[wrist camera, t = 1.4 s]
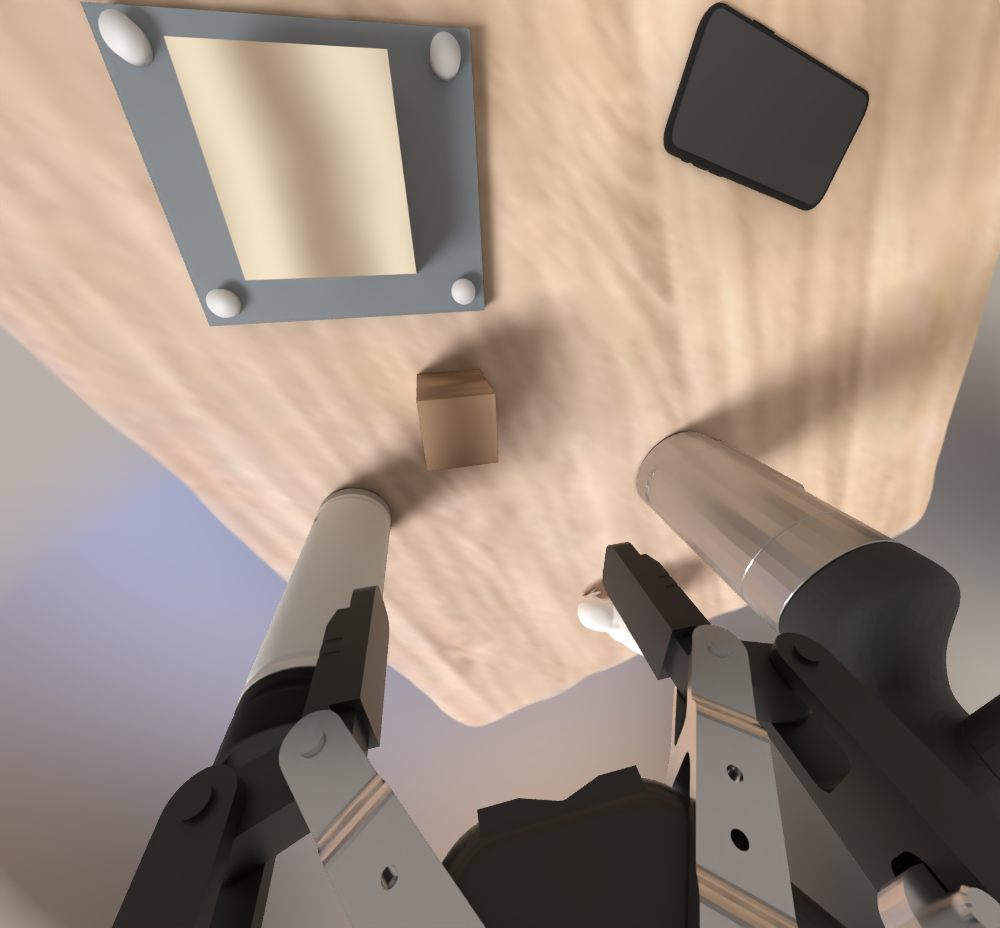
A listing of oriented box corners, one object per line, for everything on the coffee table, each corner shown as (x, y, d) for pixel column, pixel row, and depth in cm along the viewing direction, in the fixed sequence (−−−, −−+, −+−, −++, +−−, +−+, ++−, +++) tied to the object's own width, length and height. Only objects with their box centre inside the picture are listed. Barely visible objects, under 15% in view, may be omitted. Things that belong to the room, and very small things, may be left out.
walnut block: (479, 369, 29) (495, 393, 23) (482, 426, 31) (498, 462, 25) (416, 374, 28) (416, 401, 22) (425, 432, 31) (427, 471, 24)
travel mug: (300, 504, 31) (155, 789, 14) (370, 476, 31) (312, 724, 14) (339, 553, 34) (259, 834, 17) (402, 527, 34) (388, 781, 17)
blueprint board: (467, 41, 20) (471, 19, 18) (482, 309, 27) (486, 311, 25) (100, 17, 17) (65, -11, 16) (218, 324, 24) (203, 327, 22)
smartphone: (816, 214, 28) (662, 148, 24) (805, 216, 29) (654, 152, 25) (877, 92, 25) (713, -10, 21) (863, 98, 26) (702, 1, 22)
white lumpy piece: (681, 675, 41) (585, 672, 39) (646, 614, 49) (564, 609, 46) (706, 638, 38) (604, 632, 36) (665, 580, 46) (579, 572, 44)
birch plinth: (392, 89, 20) (387, 49, 16) (416, 273, 24) (416, 273, 20) (212, 81, 18) (163, 35, 15) (271, 279, 22) (245, 280, 19)
